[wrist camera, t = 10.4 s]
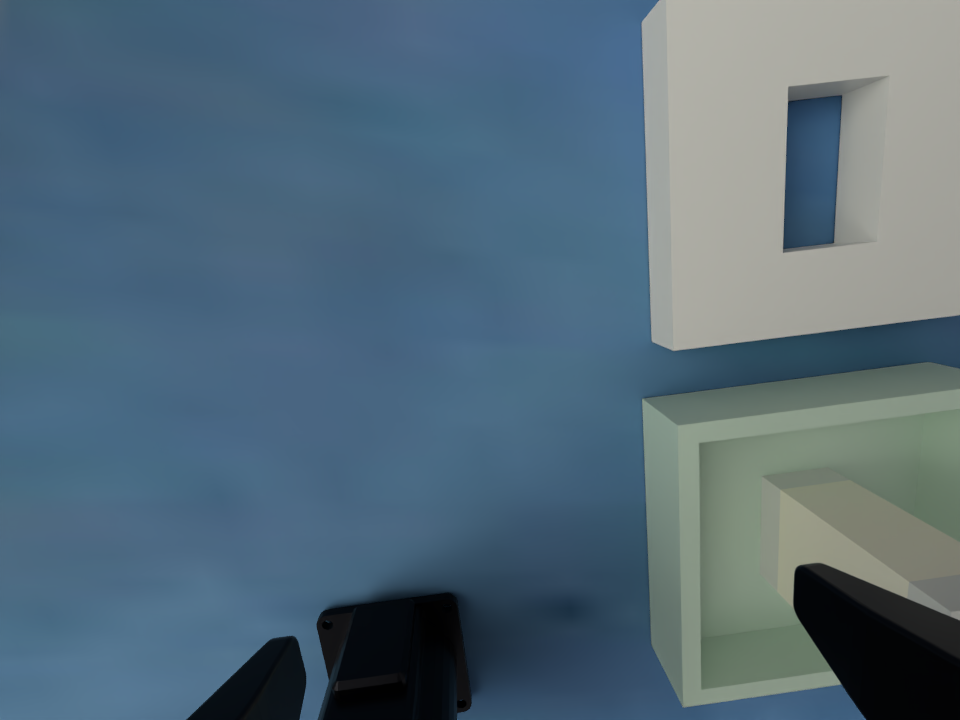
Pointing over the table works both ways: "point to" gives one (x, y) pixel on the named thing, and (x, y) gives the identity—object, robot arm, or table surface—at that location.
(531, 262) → the table surface
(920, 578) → the block
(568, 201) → the table surface
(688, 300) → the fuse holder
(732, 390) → the parts tray
